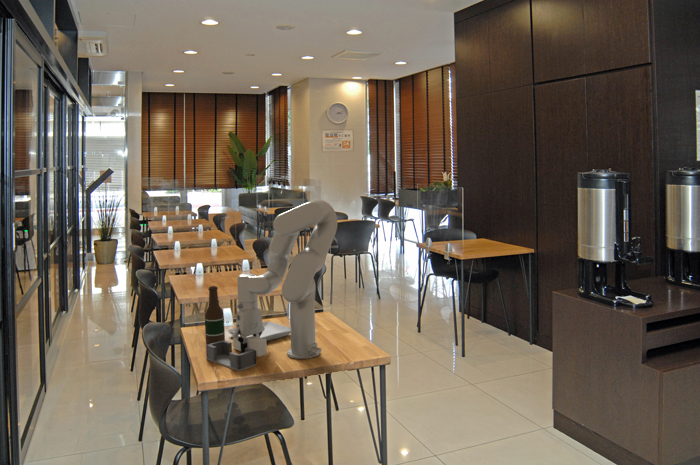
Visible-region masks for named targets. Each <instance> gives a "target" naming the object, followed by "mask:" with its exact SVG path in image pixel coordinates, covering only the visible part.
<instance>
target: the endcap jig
mask: <svg viewBox="0 0 700 465" xmlns="http://www.w3.org/2000/svg"><path fill="white" fill-rule="evenodd" d="M232 344H233V343H232V342H231V341H228V340H226V339H225V340H222V341H219V342H215V343H212V344H208V345H206V344H205V353H206V360H207V361H210V362H212V363H215V364H219V365H221V366H223V367H226V368H229V369H232V370H234V371H237V372H240V371H244V370H247V369H250V368H253V367H256V366H257V364H258V363H257V362H258V361H257V356H256V350H254V349H250V348H245V353H243V352H241V353H240V354H239V353H236V352H233V348H232V347H233V345H232Z"/></svg>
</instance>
